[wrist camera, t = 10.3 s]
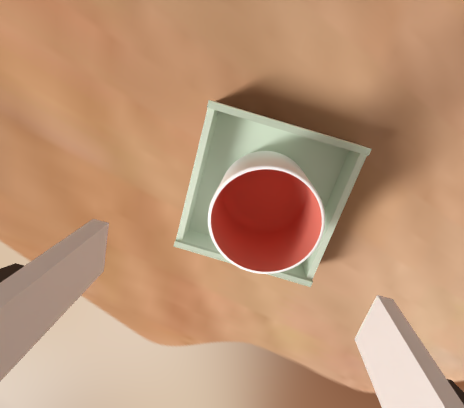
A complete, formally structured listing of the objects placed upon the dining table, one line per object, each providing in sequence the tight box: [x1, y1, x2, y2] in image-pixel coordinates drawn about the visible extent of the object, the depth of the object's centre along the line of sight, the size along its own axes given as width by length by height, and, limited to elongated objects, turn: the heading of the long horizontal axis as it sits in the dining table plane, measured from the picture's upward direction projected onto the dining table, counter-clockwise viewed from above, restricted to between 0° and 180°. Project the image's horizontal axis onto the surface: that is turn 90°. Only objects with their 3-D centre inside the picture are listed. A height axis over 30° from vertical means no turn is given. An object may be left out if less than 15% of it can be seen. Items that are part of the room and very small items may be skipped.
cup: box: [208, 151, 325, 274], centre depth 29 cm, size 10×10×10 cm
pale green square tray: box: [174, 100, 372, 287], centre depth 33 cm, size 16×16×4 cm
